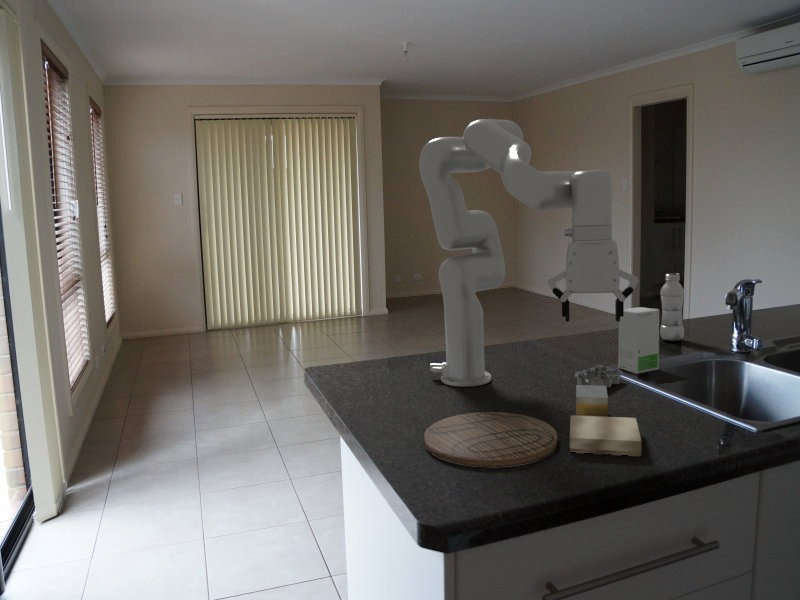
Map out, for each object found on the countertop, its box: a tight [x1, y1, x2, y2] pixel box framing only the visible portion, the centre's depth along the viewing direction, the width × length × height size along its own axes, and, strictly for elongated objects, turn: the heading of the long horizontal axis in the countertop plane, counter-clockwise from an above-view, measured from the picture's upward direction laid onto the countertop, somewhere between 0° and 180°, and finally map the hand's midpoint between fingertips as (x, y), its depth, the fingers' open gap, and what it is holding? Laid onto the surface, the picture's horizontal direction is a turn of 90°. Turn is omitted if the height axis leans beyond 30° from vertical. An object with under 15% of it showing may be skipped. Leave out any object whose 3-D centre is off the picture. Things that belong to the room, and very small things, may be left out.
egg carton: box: [573, 363, 623, 388], centre depth 158 cm, size 11×8×4 cm
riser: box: [569, 414, 642, 457], centre depth 122 cm, size 12×12×3 cm
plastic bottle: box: [659, 272, 685, 342], centre depth 196 cm, size 6×7×20 cm
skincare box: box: [617, 306, 660, 375], centre depth 168 cm, size 8×7×16 cm
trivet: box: [423, 411, 558, 467], centre depth 126 cm, size 25×25×2 cm
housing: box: [575, 384, 609, 417], centre depth 135 cm, size 6×8×6 cm
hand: (592, 320), depth 132 cm, fingers open, 9 cm apart
